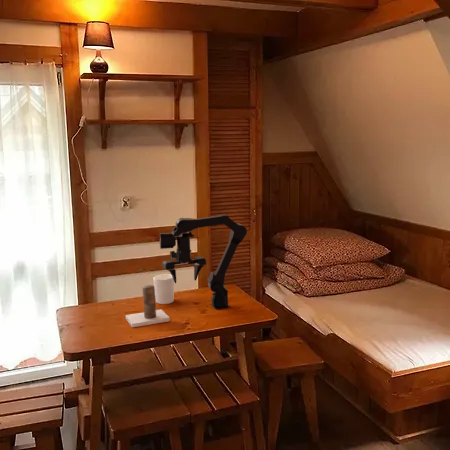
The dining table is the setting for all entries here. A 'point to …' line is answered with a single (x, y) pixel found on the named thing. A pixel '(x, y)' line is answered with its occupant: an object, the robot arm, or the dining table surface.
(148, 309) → the walnut roller
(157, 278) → the white cylinder
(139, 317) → the stone slab
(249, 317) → the dining table surface
